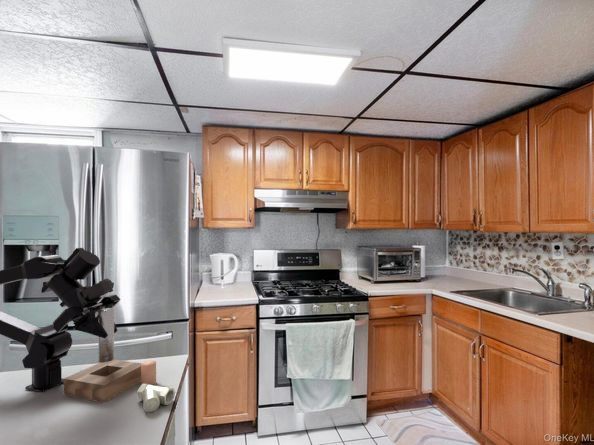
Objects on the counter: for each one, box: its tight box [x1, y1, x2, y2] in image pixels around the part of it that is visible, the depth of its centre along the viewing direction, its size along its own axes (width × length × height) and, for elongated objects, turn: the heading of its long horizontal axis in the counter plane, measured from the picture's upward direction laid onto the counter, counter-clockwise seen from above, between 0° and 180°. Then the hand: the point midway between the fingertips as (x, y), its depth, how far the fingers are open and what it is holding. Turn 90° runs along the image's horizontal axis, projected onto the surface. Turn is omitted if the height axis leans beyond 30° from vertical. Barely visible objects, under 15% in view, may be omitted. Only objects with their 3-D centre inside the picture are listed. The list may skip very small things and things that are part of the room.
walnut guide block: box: [63, 359, 143, 403], centre depth 86 cm, size 13×13×4 cm
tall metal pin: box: [97, 307, 115, 363], centre depth 86 cm, size 4×4×13 cm
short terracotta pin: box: [140, 360, 157, 386], centre depth 86 cm, size 4×4×6 cm
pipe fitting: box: [136, 384, 176, 413], centre depth 76 cm, size 8×4×7 cm
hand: (111, 334), depth 86 cm, fingers closed on tall metal pin, 4 cm apart
